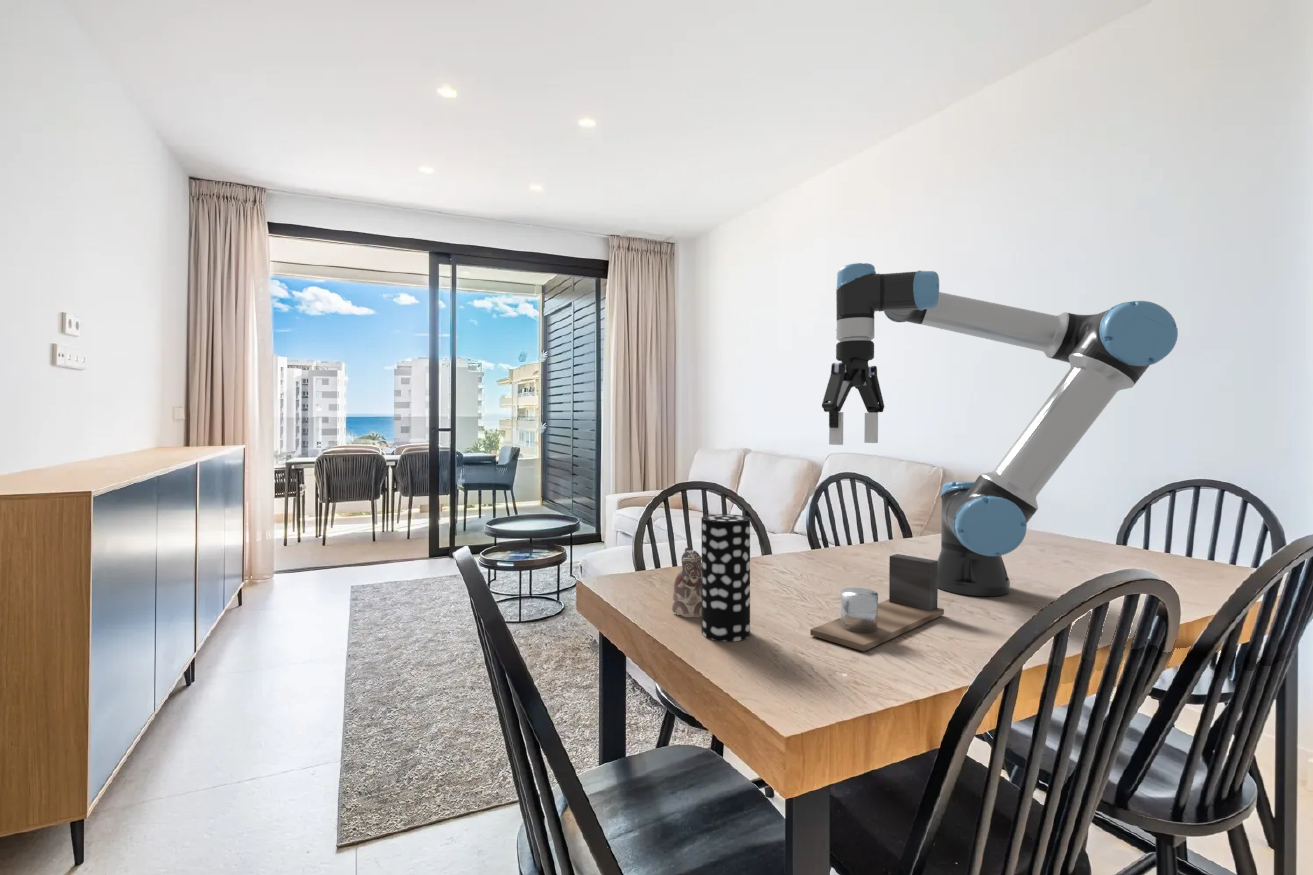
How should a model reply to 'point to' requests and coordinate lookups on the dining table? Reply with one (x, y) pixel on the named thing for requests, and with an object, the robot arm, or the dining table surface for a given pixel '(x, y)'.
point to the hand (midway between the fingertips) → (854, 443)
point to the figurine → (688, 586)
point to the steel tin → (859, 610)
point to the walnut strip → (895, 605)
